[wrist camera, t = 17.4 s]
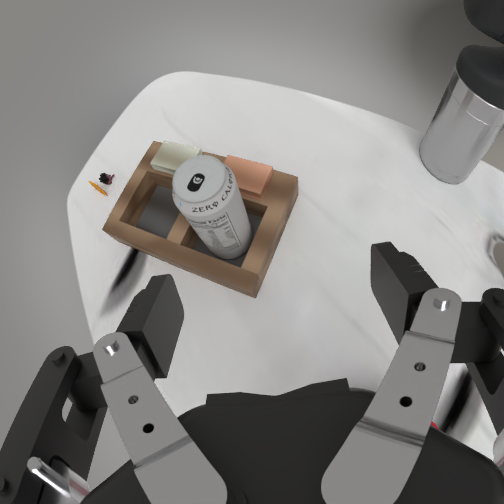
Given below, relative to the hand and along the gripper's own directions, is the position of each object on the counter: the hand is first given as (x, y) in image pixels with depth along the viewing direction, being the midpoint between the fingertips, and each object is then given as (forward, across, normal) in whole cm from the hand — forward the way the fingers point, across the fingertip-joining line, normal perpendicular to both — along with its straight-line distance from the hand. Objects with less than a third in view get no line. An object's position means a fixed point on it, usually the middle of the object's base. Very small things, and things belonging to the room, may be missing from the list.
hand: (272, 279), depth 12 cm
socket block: (+30, +10, +7) cm, 32 cm away
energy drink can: (+27, +6, +10) cm, 29 cm away
